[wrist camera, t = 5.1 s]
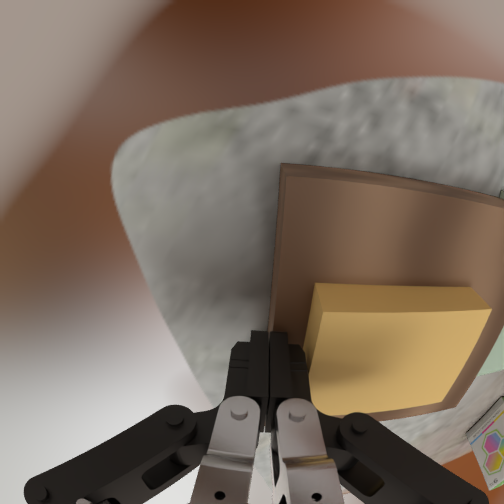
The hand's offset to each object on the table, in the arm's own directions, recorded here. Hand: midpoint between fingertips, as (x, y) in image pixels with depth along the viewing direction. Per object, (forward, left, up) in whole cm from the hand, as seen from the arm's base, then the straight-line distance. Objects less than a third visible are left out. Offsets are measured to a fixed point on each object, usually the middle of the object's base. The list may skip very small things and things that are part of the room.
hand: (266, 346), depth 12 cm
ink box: (-29, +17, -5) cm, 34 cm away
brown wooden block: (-7, 0, -4) cm, 8 cm away
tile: (-6, 0, 0) cm, 6 cm away
